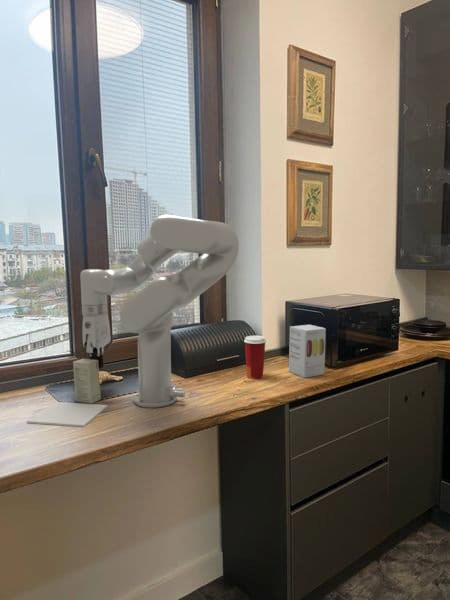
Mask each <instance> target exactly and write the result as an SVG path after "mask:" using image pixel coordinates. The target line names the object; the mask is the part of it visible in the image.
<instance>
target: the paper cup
mask: <svg viewBox="0 0 450 600" xmlns="http://www.w3.org/2000/svg"><path fill="white" fill-rule="evenodd" d="M243 342H244V348H245V350H244V351H245V365H246V368H245V369H246V377H247V378H248V379H252V380H258V379H259V380H261V379H262V378H263V377H264V368H265V367H264V364H265V353H266V352H265V351H266V343H267V340H266V338H265V336H263V335H247V336H245V338H244V340H243Z"/></svg>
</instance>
